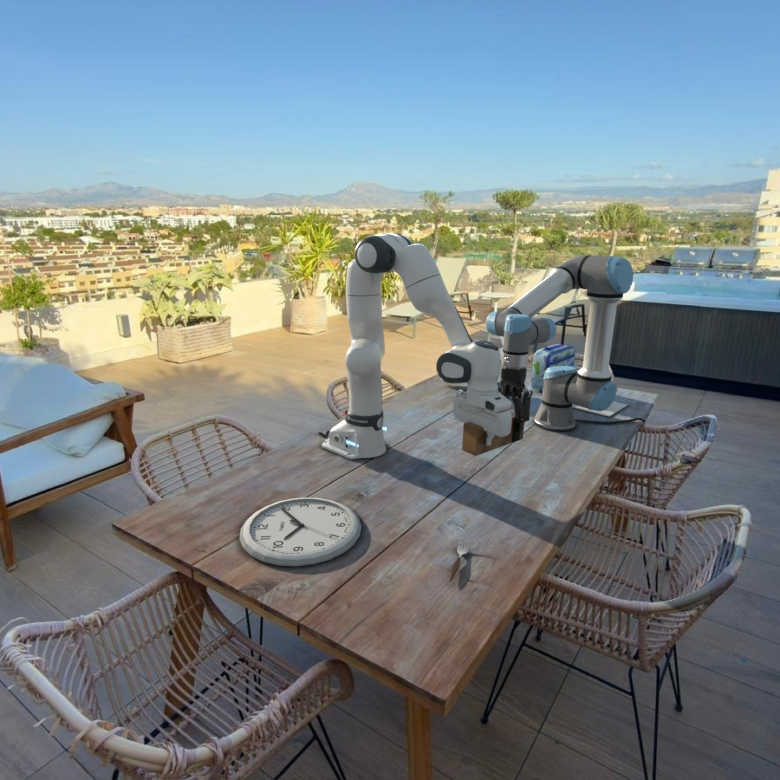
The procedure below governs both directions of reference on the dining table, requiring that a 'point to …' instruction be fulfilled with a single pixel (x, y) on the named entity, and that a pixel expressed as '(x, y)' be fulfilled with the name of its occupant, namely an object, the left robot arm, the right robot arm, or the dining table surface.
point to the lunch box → (550, 362)
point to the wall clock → (300, 532)
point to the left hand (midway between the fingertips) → (478, 441)
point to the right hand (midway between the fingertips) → (507, 437)
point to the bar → (476, 436)
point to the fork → (461, 551)
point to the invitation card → (609, 411)
